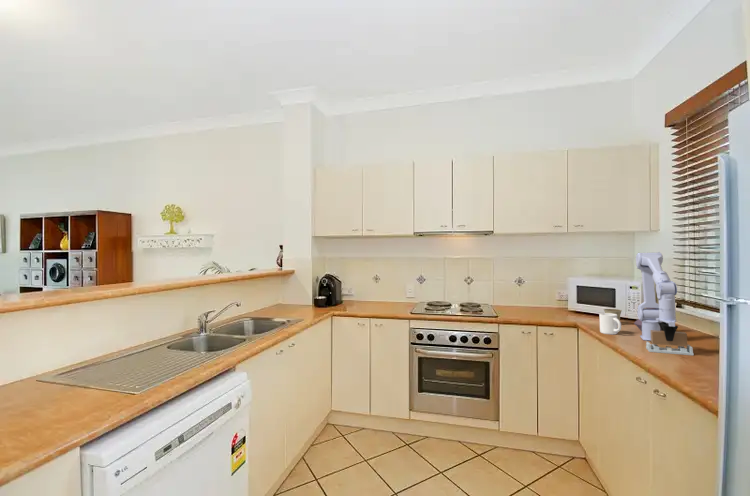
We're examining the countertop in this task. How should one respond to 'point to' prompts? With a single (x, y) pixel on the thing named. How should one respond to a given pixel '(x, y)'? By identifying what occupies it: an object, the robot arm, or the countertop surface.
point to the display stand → (670, 349)
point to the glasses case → (660, 338)
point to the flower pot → (614, 312)
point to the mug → (609, 323)
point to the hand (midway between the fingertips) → (668, 339)
